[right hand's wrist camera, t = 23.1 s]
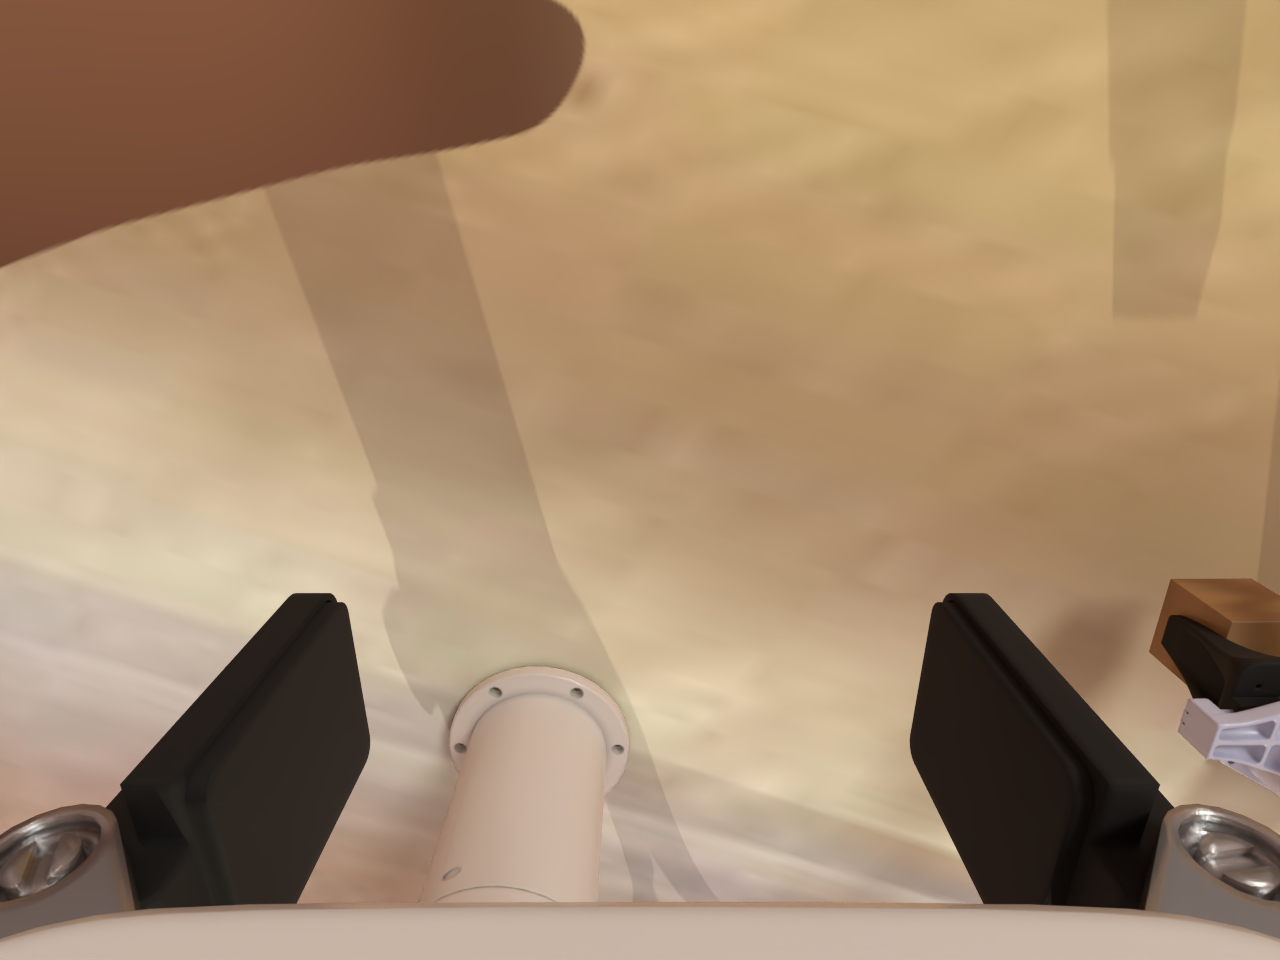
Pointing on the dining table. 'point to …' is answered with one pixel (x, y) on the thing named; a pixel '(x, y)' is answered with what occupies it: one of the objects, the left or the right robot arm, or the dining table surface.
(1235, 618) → the brown wooden cube
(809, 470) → the dining table surface
